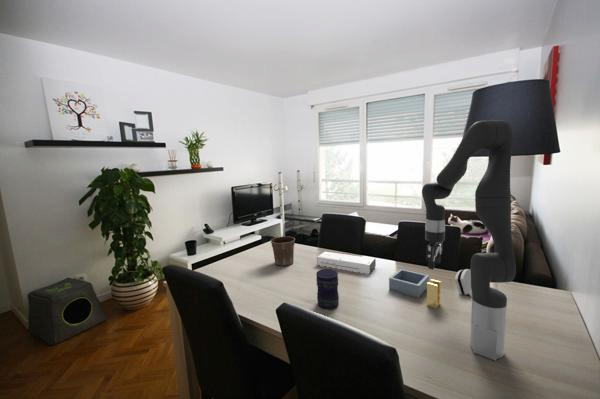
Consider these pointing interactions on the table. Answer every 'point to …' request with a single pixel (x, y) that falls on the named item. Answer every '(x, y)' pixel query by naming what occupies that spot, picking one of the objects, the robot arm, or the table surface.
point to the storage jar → (327, 289)
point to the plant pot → (283, 250)
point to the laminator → (346, 262)
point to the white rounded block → (464, 281)
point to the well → (409, 283)
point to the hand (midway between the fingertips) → (434, 265)
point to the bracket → (433, 293)
